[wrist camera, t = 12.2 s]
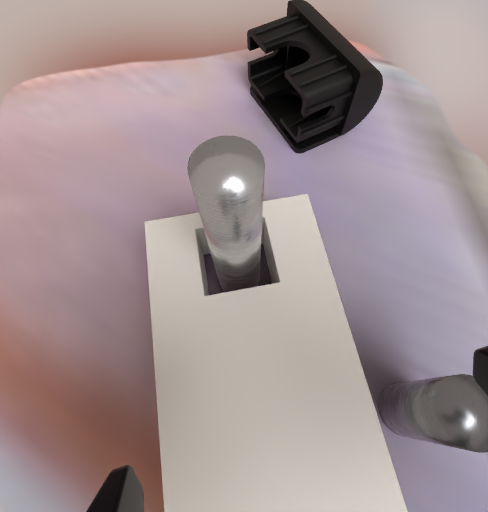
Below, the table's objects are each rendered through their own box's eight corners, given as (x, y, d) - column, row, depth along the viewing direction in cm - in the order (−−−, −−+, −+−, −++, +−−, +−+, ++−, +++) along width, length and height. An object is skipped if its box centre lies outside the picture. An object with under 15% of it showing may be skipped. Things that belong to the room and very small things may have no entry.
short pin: (436, 431, 20) (523, 444, 14) (388, 441, 20) (453, 459, 13) (417, 379, 21) (488, 368, 15) (372, 388, 21) (423, 381, 15)
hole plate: (379, 496, 19) (410, 519, 15) (185, 539, 18) (168, 573, 14) (299, 223, 26) (307, 193, 22) (160, 247, 25) (144, 221, 22)
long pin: (257, 299, 24) (260, 200, 12) (215, 295, 24) (180, 194, 12) (261, 260, 25) (267, 138, 13) (221, 257, 25) (194, 133, 14)
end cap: (367, 129, 30) (396, 58, 24) (299, 160, 29) (312, 93, 22) (307, 64, 34) (320, -12, 27) (246, 88, 32) (244, 14, 26)
